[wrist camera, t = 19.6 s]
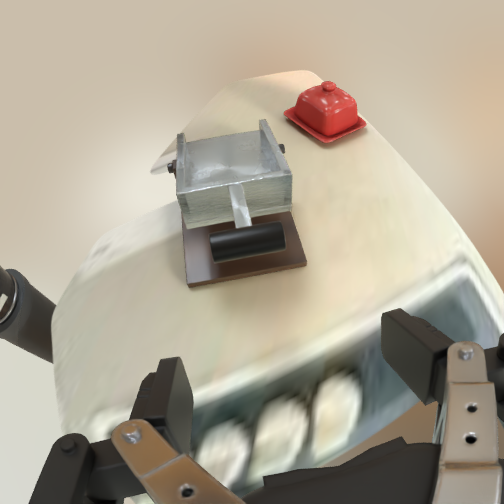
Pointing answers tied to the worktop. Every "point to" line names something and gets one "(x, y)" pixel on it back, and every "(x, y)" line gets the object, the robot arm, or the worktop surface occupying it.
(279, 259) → the stand
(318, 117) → the butter dish
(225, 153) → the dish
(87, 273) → the worktop surface
